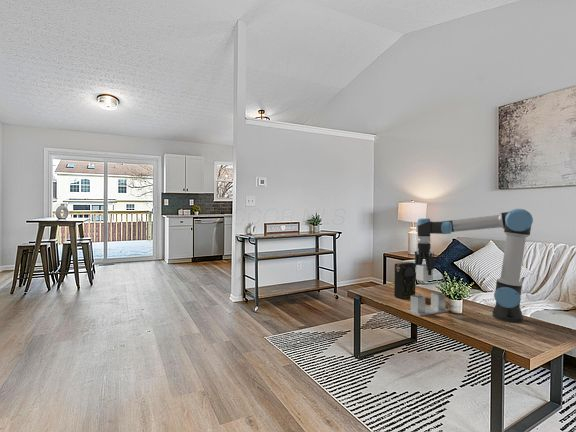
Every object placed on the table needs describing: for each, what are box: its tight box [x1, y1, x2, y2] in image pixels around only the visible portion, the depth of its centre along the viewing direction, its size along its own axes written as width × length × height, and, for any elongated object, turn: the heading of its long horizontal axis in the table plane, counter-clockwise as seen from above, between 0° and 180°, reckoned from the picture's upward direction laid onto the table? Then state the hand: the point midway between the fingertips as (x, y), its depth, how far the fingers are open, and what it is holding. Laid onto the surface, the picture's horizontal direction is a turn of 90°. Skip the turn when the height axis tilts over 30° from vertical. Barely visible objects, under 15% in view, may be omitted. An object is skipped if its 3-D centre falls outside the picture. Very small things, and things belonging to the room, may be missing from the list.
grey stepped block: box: [407, 291, 449, 317], centre depth 202 cm, size 24×10×11 cm, turn 113°
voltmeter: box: [393, 261, 416, 300], centre depth 236 cm, size 16×9×25 cm, turn 120°
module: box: [415, 263, 434, 282], centre depth 204 cm, size 8×6×9 cm
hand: (424, 279), depth 204 cm, fingers closed on module, 6 cm apart
